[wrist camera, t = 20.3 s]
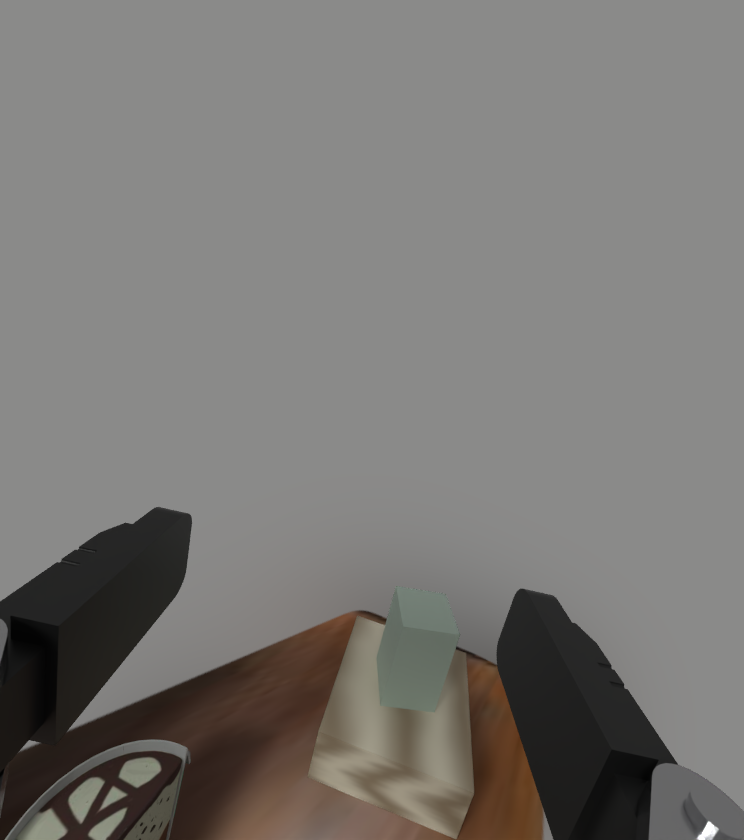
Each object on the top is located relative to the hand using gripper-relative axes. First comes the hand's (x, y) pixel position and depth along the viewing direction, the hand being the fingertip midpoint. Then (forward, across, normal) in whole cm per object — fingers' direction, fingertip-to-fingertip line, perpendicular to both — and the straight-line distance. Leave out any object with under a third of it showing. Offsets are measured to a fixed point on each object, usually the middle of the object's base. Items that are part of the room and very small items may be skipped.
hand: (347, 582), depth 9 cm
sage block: (+25, -10, +29) cm, 40 cm away
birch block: (+25, -10, +35) cm, 44 cm away
